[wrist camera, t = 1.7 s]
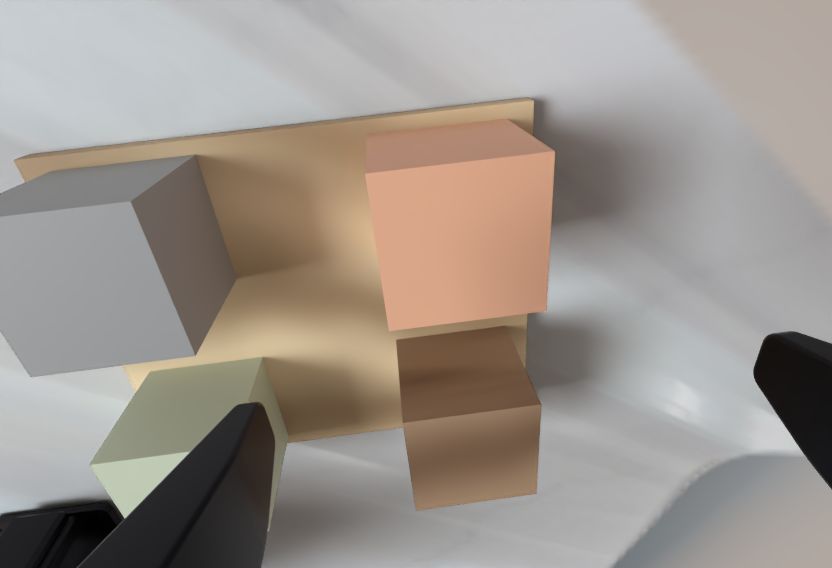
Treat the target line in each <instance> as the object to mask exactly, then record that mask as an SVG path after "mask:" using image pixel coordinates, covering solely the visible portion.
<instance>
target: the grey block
mask: <svg viewBox="0 0 832 568" xmlns="http://www.w3.org/2000/svg"><path fill="white" fill-rule="evenodd" d="M236 279H237V278H236V275H235V272H234V269H233V266H232V263H231V260H230V257H229V254H228V251H227V248H226V245H225V242H224V239H223V236H222V233H221V230H220V226H219V223H218V220H217V217H216V214H215V211H214V208H213V205H212V202H211V199H210V196H209V193H208V190H207V187H206V184H205V181H204V178H203V175H202V172H201V169H200V166H199V163H198V160H197V157H196V154H195V155H186V156H178V157H169V158H160V159H152V160H143V161H134V162H126V163H117V164H108V165H100V166H91V167H82V168H74V169H65V170H56V171H50V172H48V173H45V174H43V175H41V176H39V177H36V178H34V179H32V180H30V181H27V182H25V183H23V184H21V185H18V186H16V187H14V188H12V189H9V190H7V191H5V192H3V193H0V332H1V333H2V335H3V336H4V338H5V339H6V341H7V342H8V344H9V345H10V347H11V348H12V350H13V351H14V353H15V354H16V356H17V357H18V359H19V360H20V362H21V363H22V365H23V366H24V368H25V369H26V371H27V372H28V374H29V375H30V377H36V376H44V375H52V374H60V373H68V372H75V371H83V370H91V369H99V368H107V367H114V366H122V365H130V364H138V363H146V362H153V361H161V360H169V359H177V358H184V357H192V356H196V354H197V352H198V351H199V349H200V347H201V345H202V343H203V341H204V339H205V337H206V336H207V334H208V332H209V330H210V328H211V326H212V324H213V322H214V321H215V319H216V317H217V315H218V313H219V311H220V309H221V308H222V306H223V304H224V302H225V300H226V298H227V296H228V294H229V293H230V291H231V289H232V287H233V285H234V283H235V281H236Z"/></svg>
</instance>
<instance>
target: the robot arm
mask: <svg viewBox="0 0 832 568" xmlns="http://www.w3.org/2000/svg"><path fill="white" fill-rule="evenodd" d="M753 374H754V379H755V381H756V383H757V385H758V386H759V388H760V389H761V391H762V392H763V394H764V395H765V397H766V398H767V400H768V401H769V403H770V404H771V406H772V407H773V409H774V410H775V412H776V413H777V415H778V416H779V418H780V419H781V421H782V422H783V424H784V425H785V427H786V428H787V430H788V431H789V433H790V434H791V436H792V437H793V439H794V440H795V442H796V443H797V445H798V446H799V448H800V449H801V450H802V452H803V453H804V455H805V456H806V457H807V459H808V460H809V461H810V463H811V464H812V465H813V467H814V468H815V469H816V470H817V472H818V473H819V474H820V476H822V478H823V479H824V480H825V482H826V483H827V484H828V485H829V487H830V488H831V489H832V344H831V343H828V342H825V341H822V340H819V339H816V338H813V337H810V336H807V335H804V334H801V333H798V332H793V331H788V332H780V333H773V334H770V335H768V336H767V337H766V338H765V339H764V340H763V343H762V346H761V349H760V351H759V354H758V357H757V360H756V363H755V366H754V369H753ZM274 457H275V437H274V433H273V430H272V427H271V424H270V421H269V418H268V416H267V413H266V410H265V407H264V405H263V404H262V403H261V402H250V403H243V404H238V405H236V406H235V407H234V408H233V409H232V410H231V411H230V412H229V413H228V414H227V415H226V416H225V417H224V418H223V419H222V420H221V421H220V422H219V423H218V424H217V425H216V426H215V427H214V428H213V429H212V430H211V431H210V432H209V433H208V434H207V435H206V436H205V437H204V438H203V439H202V440H201V441H200V442H199V443H198V444H197V445H196V446H195V447H194V449H193V450H192V451H191V452H190V453H189V454H188V455H187V456H186V457H185V458H184V459H183V460H182V461H181V462H180V463H179V464H178V465H177V466H176V467H175V468H174V469H173V470H172V471H171V472H170V473H169V474H168V475H167V476H166V477H165V478H164V479H163V480H162V481H161V482H160V483H159V484H158V485H157V486H156V487H155V488H154V489H153V490H152V491H151V492H150V493H149V494H148V495H147V496H146V498H145V499H144V500H143V501H142V502H141V503H140V504H139V505H138V506H137V507H136V508H135V509H134V510H133V511H132V512H131V513H130V514H129V515H128V516H127V517H126V518H125V519H124V520H123V521H121V519H120V518H119V516H118V515H117V513H116V512H115V510H114V509H113V507H112V506H111V505H109V504H106V503H97V504H89V505H82V506H75V507H67V508H60V509H53V510H45V511H38V512H31V513H23V514H16V515H9V516H1V517H0V568H261V565H262V560H263V555H264V550H265V544H266V539H267V532H268V523H269V513H270V502H271V490H272V479H273V468H274Z"/></svg>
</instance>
